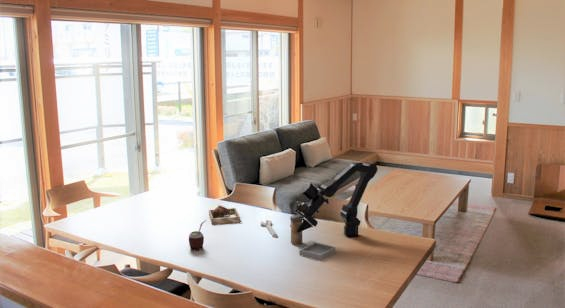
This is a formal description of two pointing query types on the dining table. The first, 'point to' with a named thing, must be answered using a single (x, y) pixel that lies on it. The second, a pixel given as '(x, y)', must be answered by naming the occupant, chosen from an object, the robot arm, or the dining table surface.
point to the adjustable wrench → (269, 227)
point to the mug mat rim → (226, 219)
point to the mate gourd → (196, 239)
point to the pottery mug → (220, 212)
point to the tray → (317, 251)
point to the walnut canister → (295, 224)
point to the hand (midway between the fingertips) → (293, 229)
